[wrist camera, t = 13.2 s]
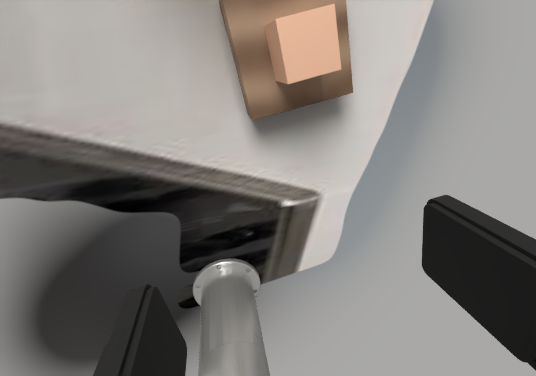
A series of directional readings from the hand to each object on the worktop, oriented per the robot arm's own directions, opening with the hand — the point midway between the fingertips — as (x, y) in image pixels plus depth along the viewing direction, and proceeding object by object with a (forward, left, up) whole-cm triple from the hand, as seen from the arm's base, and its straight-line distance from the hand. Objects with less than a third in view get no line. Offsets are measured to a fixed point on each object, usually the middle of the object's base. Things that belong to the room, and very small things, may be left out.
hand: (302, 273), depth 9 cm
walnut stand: (+6, -9, -34) cm, 35 cm away
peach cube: (+6, -9, -29) cm, 31 cm away
